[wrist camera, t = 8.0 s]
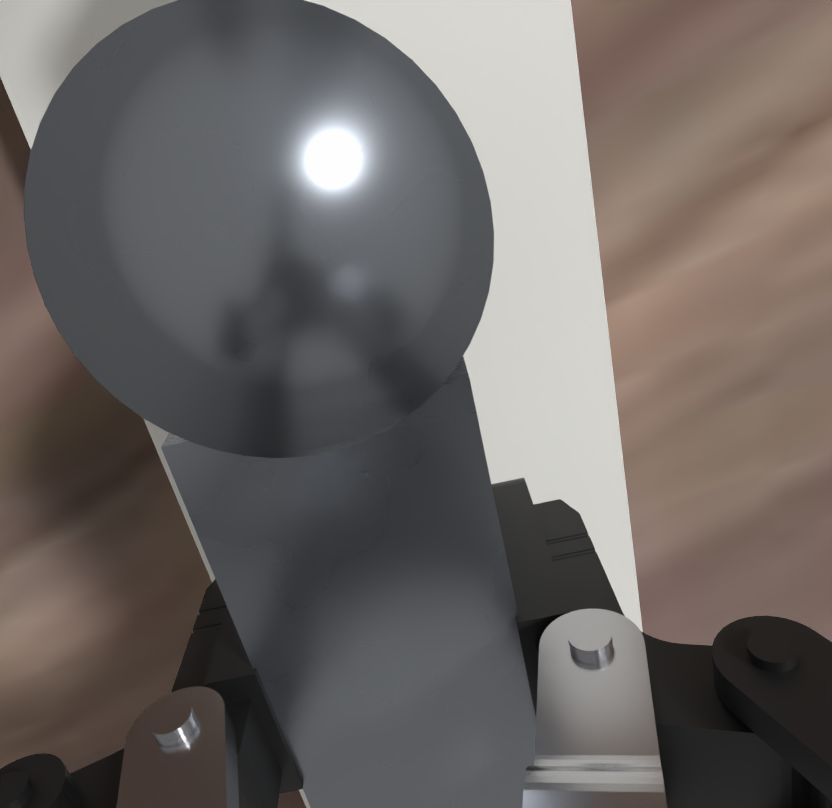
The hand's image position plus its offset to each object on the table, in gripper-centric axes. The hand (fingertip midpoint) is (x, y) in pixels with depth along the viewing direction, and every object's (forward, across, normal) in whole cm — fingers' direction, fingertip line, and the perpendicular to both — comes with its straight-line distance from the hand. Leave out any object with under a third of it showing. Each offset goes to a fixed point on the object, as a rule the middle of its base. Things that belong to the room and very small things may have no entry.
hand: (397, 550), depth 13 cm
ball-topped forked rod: (0, 0, 0) cm, 0 cm away
